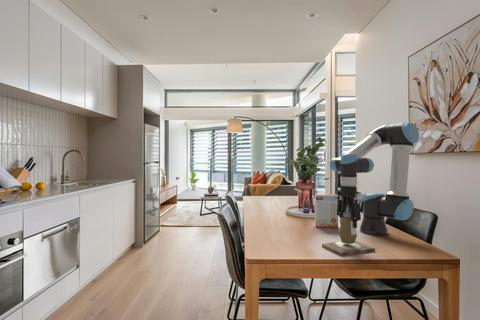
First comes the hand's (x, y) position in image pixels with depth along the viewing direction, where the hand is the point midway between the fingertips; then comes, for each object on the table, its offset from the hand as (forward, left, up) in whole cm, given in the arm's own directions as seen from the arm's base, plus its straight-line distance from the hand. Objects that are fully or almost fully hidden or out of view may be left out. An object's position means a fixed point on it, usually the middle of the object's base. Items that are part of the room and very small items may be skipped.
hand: (348, 232), depth 138 cm
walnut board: (0, 0, -8) cm, 8 cm away
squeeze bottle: (0, 0, -5) cm, 5 cm away
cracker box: (-18, -40, -8) cm, 45 cm away
